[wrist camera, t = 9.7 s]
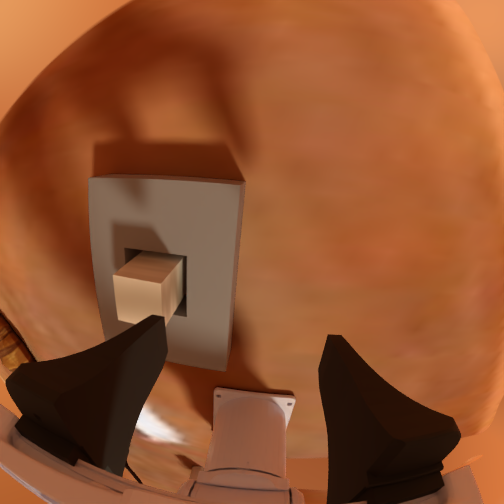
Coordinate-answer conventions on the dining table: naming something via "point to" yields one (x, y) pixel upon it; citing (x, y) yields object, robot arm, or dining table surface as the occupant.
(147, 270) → the peg
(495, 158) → the dining table surface
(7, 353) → the croissant
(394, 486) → the robot arm
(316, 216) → the dining table surface
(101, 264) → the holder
